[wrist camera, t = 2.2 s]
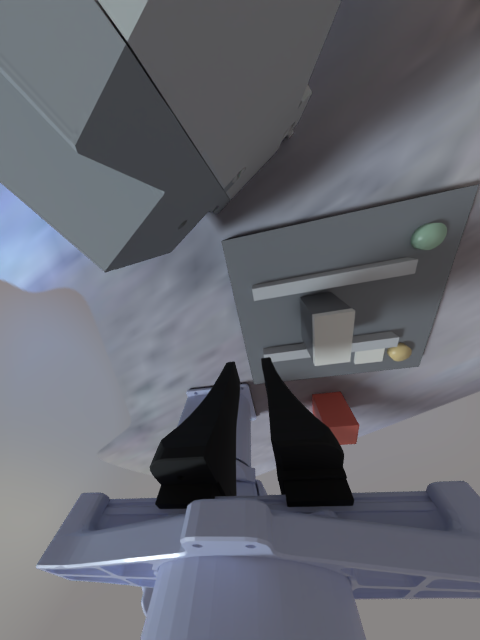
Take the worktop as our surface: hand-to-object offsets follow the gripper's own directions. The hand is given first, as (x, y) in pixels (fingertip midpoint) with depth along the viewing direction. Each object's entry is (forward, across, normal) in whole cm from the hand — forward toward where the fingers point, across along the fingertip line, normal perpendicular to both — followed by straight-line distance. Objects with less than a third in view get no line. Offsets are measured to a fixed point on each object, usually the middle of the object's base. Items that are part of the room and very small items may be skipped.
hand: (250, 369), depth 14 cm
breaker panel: (+8, -9, 0) cm, 12 cm away
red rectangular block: (+8, -9, +16) cm, 20 cm away
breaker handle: (+7, -7, 0) cm, 10 cm away
